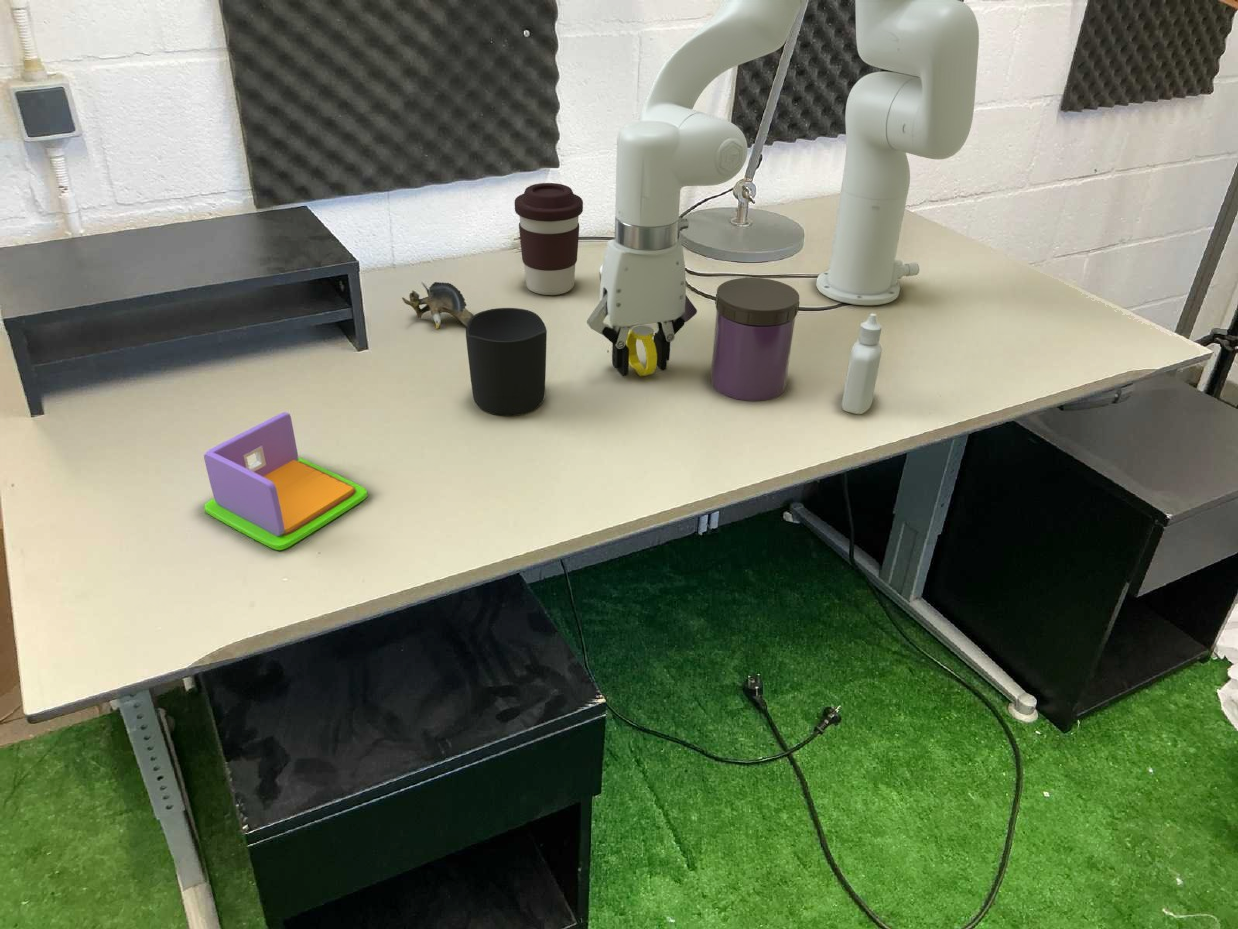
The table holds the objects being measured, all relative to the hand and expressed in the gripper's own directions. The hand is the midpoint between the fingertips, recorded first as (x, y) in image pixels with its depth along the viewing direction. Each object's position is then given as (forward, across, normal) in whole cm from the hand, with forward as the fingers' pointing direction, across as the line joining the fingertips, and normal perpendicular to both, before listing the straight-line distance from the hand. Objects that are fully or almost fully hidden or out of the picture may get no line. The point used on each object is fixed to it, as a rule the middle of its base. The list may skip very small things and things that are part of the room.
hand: (640, 367), depth 124 cm
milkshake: (+1, -2, -15) cm, 15 cm away
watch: (+1, 0, 0) cm, 1 cm away
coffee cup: (+1, +3, -30) cm, 30 cm away
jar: (+1, -12, +7) cm, 14 cm away
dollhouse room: (+1, +45, +16) cm, 48 cm away
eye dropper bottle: (+1, -22, +16) cm, 28 cm away
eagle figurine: (+1, +21, -22) cm, 30 cm away
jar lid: (-11, -12, +7) cm, 18 cm away
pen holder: (+1, +18, +2) cm, 18 cm away
